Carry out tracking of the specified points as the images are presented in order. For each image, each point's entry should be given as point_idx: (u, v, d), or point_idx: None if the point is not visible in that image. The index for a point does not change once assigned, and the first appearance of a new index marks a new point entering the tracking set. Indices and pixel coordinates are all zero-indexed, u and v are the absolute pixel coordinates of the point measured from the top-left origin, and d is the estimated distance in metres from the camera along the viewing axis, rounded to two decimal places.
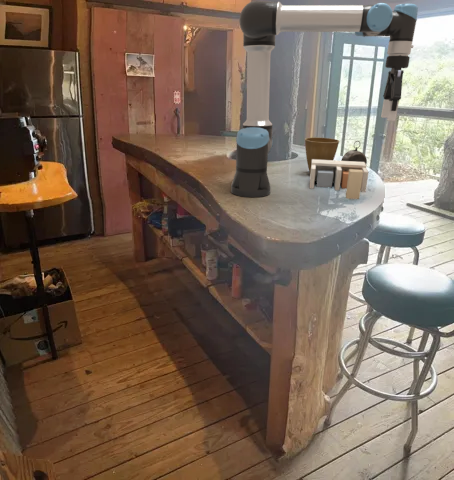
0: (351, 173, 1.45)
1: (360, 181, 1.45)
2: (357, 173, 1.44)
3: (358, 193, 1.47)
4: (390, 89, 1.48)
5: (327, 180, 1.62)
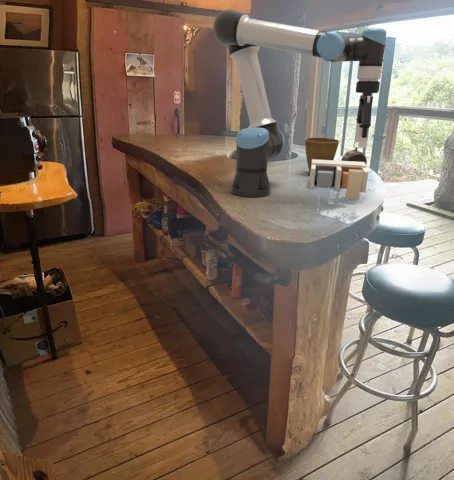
0: (351, 173, 1.45)
1: (360, 181, 1.45)
2: (357, 173, 1.44)
3: (358, 193, 1.47)
4: (362, 114, 1.43)
5: (327, 180, 1.62)
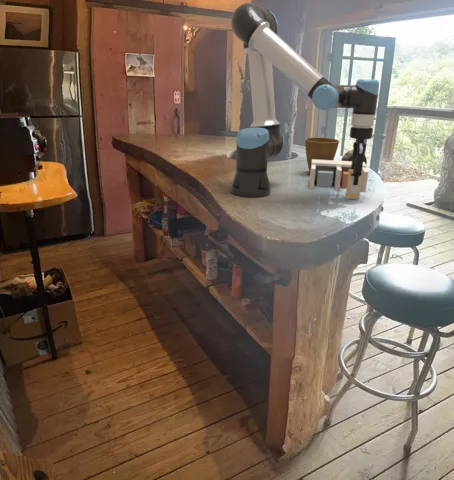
0: (351, 173, 1.45)
1: (360, 181, 1.45)
2: None
3: (358, 193, 1.47)
4: None
5: (327, 180, 1.62)
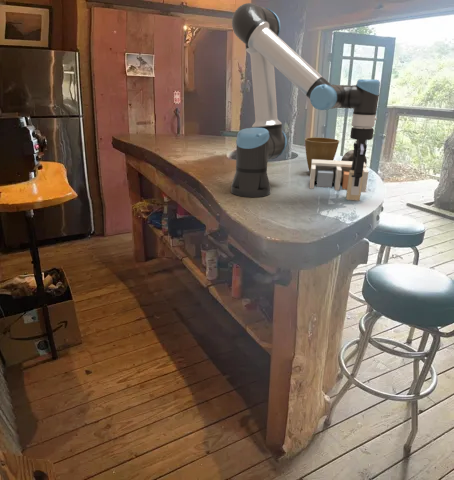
0: (351, 174, 1.43)
1: (360, 182, 1.43)
2: None
3: None
4: None
5: (327, 180, 1.62)
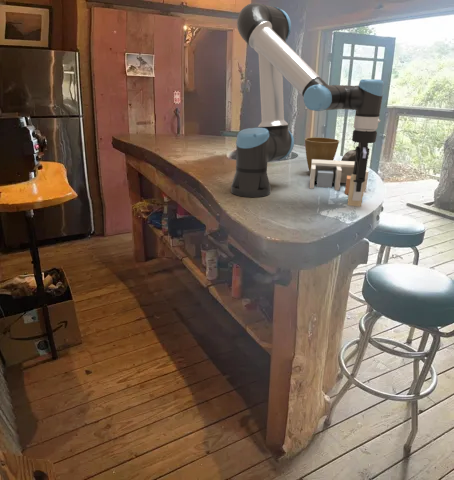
0: (352, 179, 1.36)
1: None
2: None
3: None
4: None
5: (327, 180, 1.62)
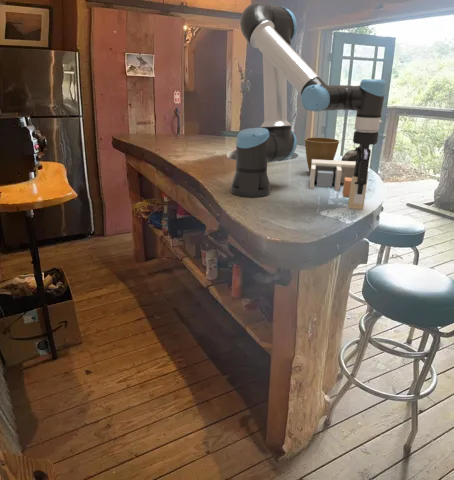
0: (354, 181, 1.33)
1: (364, 190, 1.33)
2: None
3: (362, 203, 1.35)
4: None
5: (327, 180, 1.62)
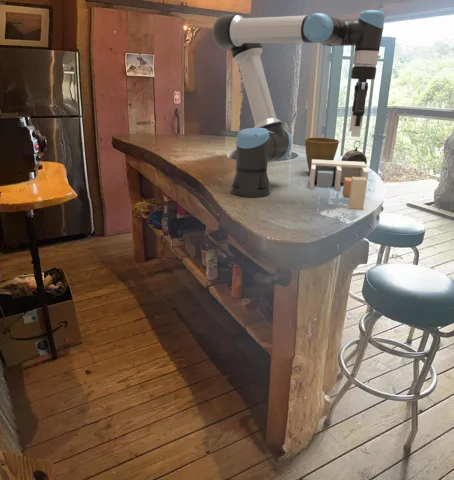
0: (354, 181, 1.33)
1: (364, 190, 1.33)
2: (361, 181, 1.33)
3: (362, 203, 1.35)
4: None
5: (327, 180, 1.62)
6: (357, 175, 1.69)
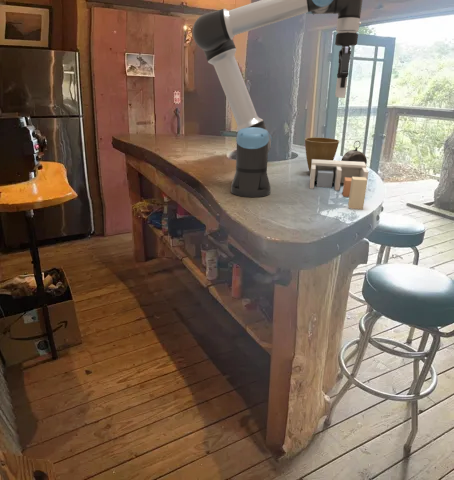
0: (354, 181, 1.33)
1: (364, 190, 1.33)
2: (361, 181, 1.33)
3: (362, 203, 1.35)
4: None
5: (327, 180, 1.62)
6: (357, 175, 1.69)
